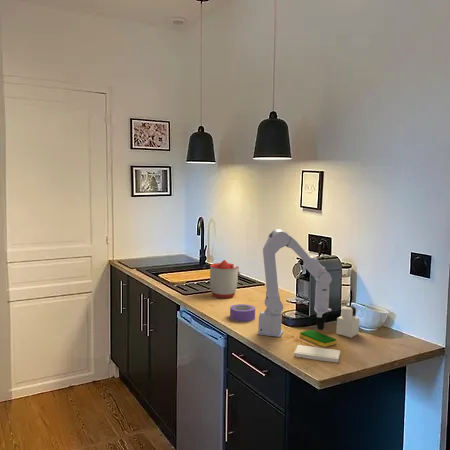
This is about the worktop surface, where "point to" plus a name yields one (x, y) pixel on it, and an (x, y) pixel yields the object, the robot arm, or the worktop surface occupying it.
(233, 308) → the tape roll
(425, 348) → the worktop surface
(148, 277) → the worktop surface
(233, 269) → the citrus juicer
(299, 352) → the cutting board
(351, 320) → the medicine bottle
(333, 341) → the dish sponge
